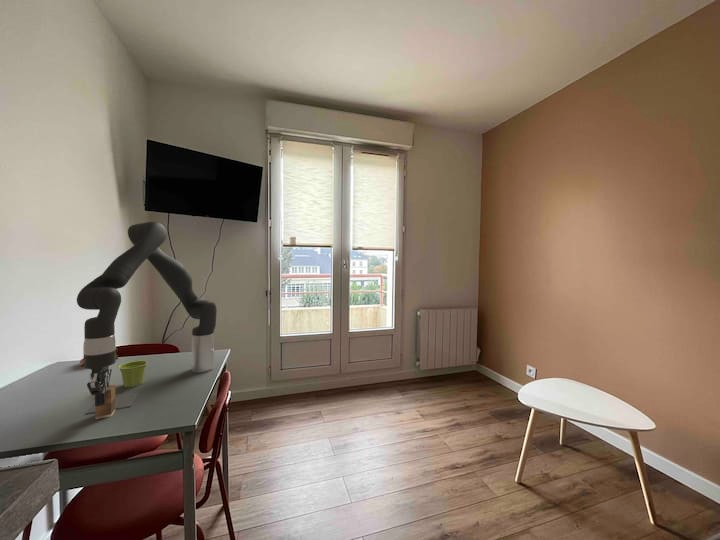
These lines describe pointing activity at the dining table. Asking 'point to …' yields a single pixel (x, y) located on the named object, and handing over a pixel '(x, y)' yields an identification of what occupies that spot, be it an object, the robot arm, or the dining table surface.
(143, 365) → the plant pot
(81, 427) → the dining table surface
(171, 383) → the dining table surface
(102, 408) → the tan wooden block
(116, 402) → the mat
